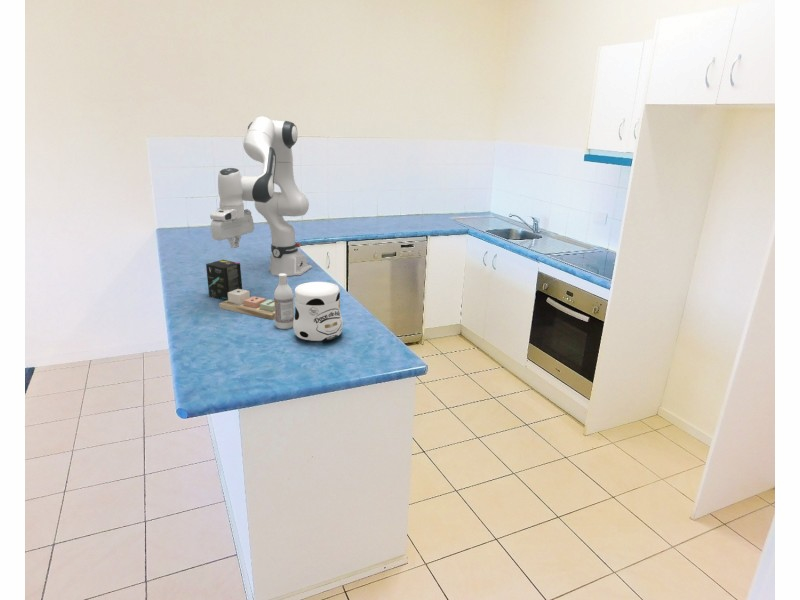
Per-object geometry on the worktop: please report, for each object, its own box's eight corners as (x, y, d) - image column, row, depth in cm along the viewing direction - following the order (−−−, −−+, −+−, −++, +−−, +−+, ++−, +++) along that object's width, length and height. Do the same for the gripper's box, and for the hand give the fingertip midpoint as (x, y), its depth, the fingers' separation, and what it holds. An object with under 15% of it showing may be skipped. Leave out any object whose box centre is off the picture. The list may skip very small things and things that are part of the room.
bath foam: (277, 322, 201) (275, 271, 195) (296, 322, 201) (294, 271, 195) (273, 329, 195) (270, 276, 188) (292, 329, 195) (290, 277, 188)
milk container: (333, 348, 180) (333, 298, 174) (285, 343, 184) (283, 293, 178) (348, 329, 196) (348, 283, 190) (304, 324, 200) (302, 278, 194)
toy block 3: (270, 308, 214) (269, 298, 213) (282, 311, 212) (281, 301, 210) (260, 313, 209) (259, 303, 208) (272, 316, 207) (272, 306, 205)
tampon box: (243, 295, 229) (241, 262, 224) (226, 301, 221) (223, 267, 216) (225, 291, 234) (222, 258, 229) (208, 296, 226) (205, 263, 222)
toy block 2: (254, 305, 217) (253, 295, 216) (266, 307, 215) (265, 298, 214) (244, 309, 212) (243, 300, 211) (256, 312, 210) (255, 302, 208)
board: (240, 299, 224) (239, 295, 223) (291, 310, 214) (290, 305, 213) (219, 308, 214) (219, 303, 213) (272, 319, 203) (271, 314, 203)
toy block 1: (238, 297, 220) (237, 288, 219) (250, 300, 218) (249, 290, 216) (228, 302, 215) (227, 292, 213) (240, 304, 212) (239, 294, 211)
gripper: (244, 207, 214) (246, 241, 219) (206, 215, 197) (210, 251, 201) (256, 209, 212) (258, 243, 216) (219, 217, 194) (223, 254, 199)
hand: (235, 247), depth 209 cm, fingers closed
